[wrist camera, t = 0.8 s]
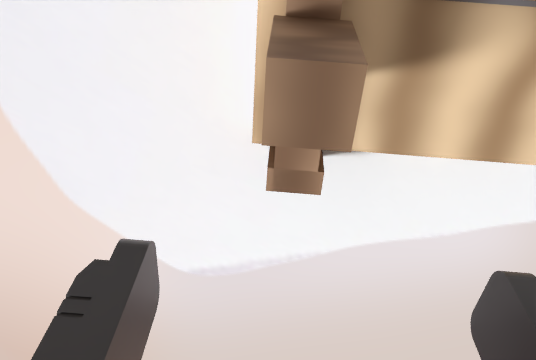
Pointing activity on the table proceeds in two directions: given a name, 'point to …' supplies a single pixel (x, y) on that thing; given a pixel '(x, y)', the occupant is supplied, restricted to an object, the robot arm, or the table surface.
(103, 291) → the robot arm
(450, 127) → the oak board
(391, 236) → the table surface
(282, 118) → the marking gauge
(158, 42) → the table surface
